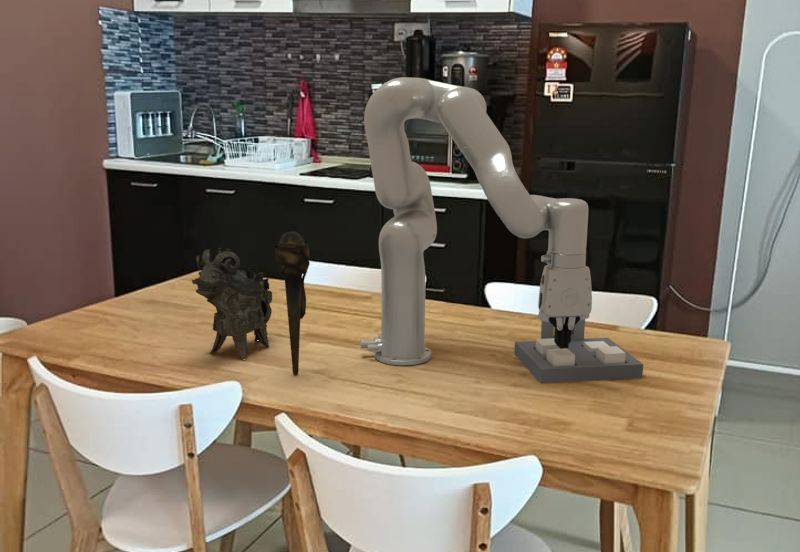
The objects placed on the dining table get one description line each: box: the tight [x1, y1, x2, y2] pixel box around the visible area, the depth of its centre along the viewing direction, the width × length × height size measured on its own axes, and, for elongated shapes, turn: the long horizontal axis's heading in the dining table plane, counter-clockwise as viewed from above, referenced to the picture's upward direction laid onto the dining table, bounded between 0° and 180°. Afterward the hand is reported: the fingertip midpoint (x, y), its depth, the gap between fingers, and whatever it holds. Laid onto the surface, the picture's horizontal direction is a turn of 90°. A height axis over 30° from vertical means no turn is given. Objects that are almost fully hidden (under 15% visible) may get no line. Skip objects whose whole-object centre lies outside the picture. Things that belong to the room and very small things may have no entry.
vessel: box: [191, 247, 273, 360], centre depth 183 cm, size 11×25×24 cm, turn 155°
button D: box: [583, 341, 610, 353], centre depth 181 cm, size 4×4×2 cm
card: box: [540, 317, 586, 340], centre depth 186 cm, size 10×1×7 cm, turn 100°
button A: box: [546, 349, 575, 367], centre depth 173 cm, size 4×4×2 cm
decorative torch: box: [274, 231, 311, 376], centre depth 169 cm, size 7×7×30 cm
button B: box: [596, 346, 626, 364], centre depth 174 cm, size 4×4×2 cm
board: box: [513, 337, 644, 384], centre depth 179 cm, size 22×18×3 cm
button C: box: [535, 338, 560, 355], centre depth 179 cm, size 4×4×2 cm
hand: (562, 346), depth 172 cm, fingers closed
